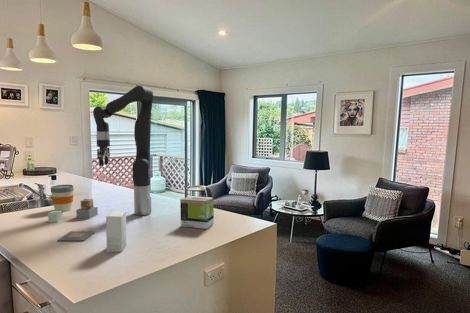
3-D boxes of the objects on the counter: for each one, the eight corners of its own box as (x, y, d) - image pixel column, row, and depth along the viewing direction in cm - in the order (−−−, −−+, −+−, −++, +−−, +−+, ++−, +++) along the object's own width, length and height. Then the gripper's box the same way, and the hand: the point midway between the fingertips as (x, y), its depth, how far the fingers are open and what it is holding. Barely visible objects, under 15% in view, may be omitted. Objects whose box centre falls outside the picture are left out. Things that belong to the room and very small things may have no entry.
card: (95, 232, 155) (95, 230, 155) (84, 241, 143) (84, 239, 143) (70, 232, 155) (70, 230, 155) (57, 241, 143) (57, 239, 143)
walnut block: (93, 207, 184) (93, 199, 184) (89, 209, 179) (89, 201, 179) (84, 207, 184) (84, 199, 184) (80, 209, 179) (80, 201, 179)
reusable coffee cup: (46, 211, 192) (45, 187, 191) (64, 206, 204) (63, 184, 203) (61, 213, 188) (60, 189, 186) (79, 208, 199) (78, 185, 198)
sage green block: (62, 219, 177) (62, 210, 176) (57, 222, 172) (57, 213, 171) (53, 219, 177) (53, 210, 176) (48, 222, 172) (47, 213, 171)
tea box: (214, 224, 169) (214, 197, 168) (206, 229, 160) (206, 201, 159) (189, 221, 174) (188, 194, 173) (180, 226, 165) (179, 198, 163)
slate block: (97, 215, 186) (97, 207, 185) (89, 219, 178) (89, 210, 177) (85, 214, 187) (84, 206, 186) (76, 218, 179) (76, 209, 179)
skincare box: (112, 245, 138) (111, 210, 137) (127, 244, 139) (126, 210, 137) (106, 252, 130) (104, 216, 129) (122, 252, 131) (121, 215, 129)
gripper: (105, 139, 189) (105, 166, 190) (113, 138, 203) (114, 163, 204) (92, 139, 188) (93, 166, 190) (101, 138, 203) (102, 163, 204)
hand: (104, 164), depth 197 cm, fingers open, 8 cm apart
